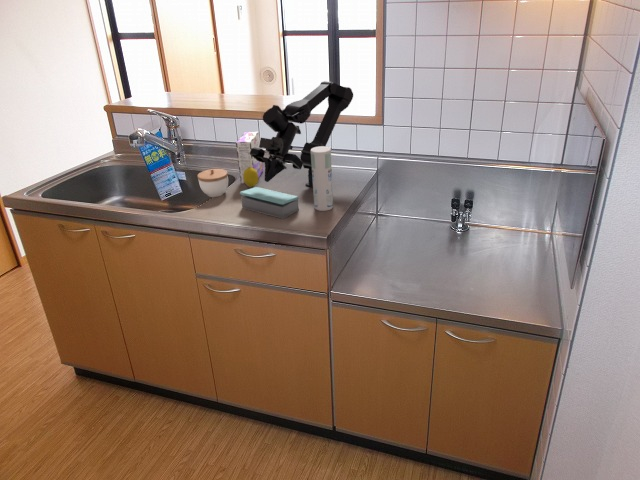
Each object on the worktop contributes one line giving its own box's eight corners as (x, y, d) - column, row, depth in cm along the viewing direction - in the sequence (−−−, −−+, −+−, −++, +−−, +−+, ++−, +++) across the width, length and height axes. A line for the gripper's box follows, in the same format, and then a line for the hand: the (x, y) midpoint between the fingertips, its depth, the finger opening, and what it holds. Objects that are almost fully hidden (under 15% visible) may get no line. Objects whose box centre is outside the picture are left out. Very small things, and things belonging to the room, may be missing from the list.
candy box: (249, 171, 208) (244, 131, 200) (263, 171, 207) (259, 131, 199) (240, 183, 196) (234, 141, 188) (255, 183, 195) (250, 141, 187)
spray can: (332, 211, 169) (329, 152, 159) (312, 210, 170) (308, 152, 160) (334, 203, 174) (332, 146, 165) (315, 203, 175) (312, 146, 166)
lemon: (258, 190, 189) (256, 169, 185) (243, 190, 189) (240, 170, 185) (260, 184, 194) (258, 164, 190) (245, 185, 194) (243, 165, 190)
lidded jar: (197, 200, 183) (193, 175, 179) (204, 189, 193) (200, 165, 189) (227, 198, 183) (224, 173, 179) (232, 187, 193) (229, 163, 188)
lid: (256, 189, 179) (256, 186, 178) (298, 198, 169) (298, 196, 169) (239, 194, 172) (239, 191, 172) (282, 204, 163) (282, 202, 162)
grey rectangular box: (258, 199, 180) (256, 189, 179) (298, 209, 171) (297, 198, 169) (242, 208, 175) (241, 197, 173) (283, 218, 165) (282, 207, 163)
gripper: (249, 123, 169) (230, 166, 166) (294, 130, 159) (275, 175, 156) (267, 140, 178) (250, 180, 175) (311, 147, 168) (293, 190, 165)
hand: (266, 181), depth 168 cm, fingers closed
